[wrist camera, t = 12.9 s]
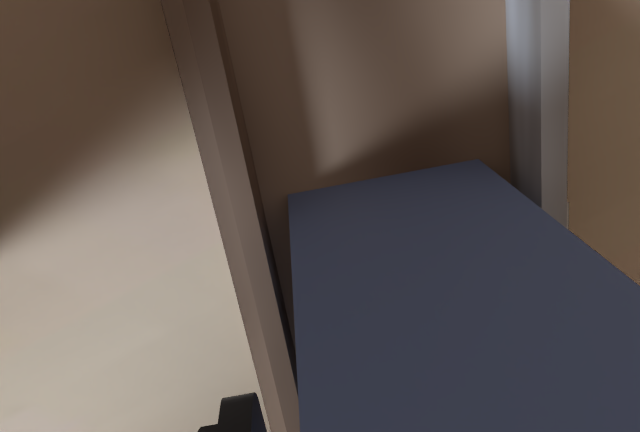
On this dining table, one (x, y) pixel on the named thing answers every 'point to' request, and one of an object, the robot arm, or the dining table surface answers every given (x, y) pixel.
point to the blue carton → (456, 311)
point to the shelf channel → (358, 121)
